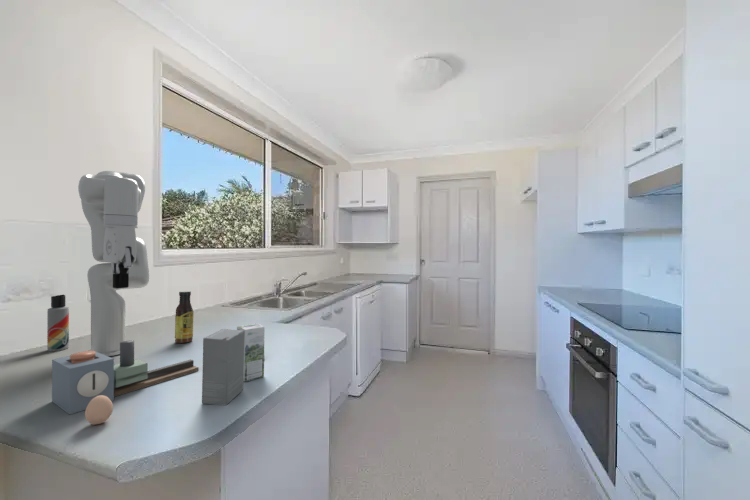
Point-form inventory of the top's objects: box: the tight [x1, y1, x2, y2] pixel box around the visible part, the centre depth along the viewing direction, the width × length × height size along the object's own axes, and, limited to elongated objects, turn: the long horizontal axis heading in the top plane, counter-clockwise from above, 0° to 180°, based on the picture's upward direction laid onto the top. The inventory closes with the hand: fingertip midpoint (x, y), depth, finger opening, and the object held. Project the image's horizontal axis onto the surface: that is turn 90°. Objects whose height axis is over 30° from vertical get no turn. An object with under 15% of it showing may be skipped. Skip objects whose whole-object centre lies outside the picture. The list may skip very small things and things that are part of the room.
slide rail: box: [114, 359, 199, 397], centre depth 92 cm, size 7×21×3 cm, turn 148°
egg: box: [84, 395, 114, 425], centre depth 69 cm, size 4×4×6 cm
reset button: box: [69, 350, 96, 364], centre depth 79 cm, size 5×5×5 cm
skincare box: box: [201, 328, 245, 406], centre depth 81 cm, size 8×7×16 cm
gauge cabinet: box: [51, 351, 115, 415], centre depth 79 cm, size 13×8×10 cm, turn 58°
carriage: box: [114, 339, 149, 388], centre depth 87 cm, size 6×7×10 cm
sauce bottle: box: [174, 290, 194, 344], centre depth 131 cm, size 7×6×20 cm
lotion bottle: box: [46, 294, 70, 352], centre depth 122 cm, size 6×6×20 cm
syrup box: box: [236, 323, 265, 383], centre depth 94 cm, size 6×6×14 cm
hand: (120, 287), depth 93 cm, fingers closed
